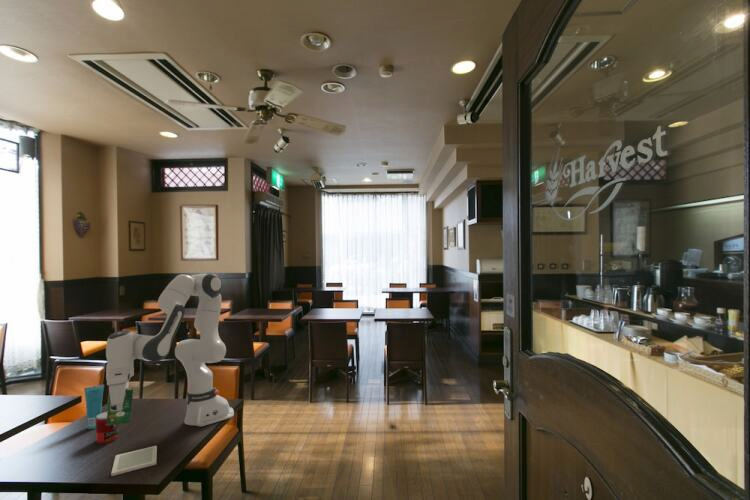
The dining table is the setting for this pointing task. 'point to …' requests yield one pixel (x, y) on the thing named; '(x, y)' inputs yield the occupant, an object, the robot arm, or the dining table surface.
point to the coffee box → (125, 413)
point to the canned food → (105, 429)
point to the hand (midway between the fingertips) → (120, 408)
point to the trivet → (134, 460)
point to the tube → (93, 404)
